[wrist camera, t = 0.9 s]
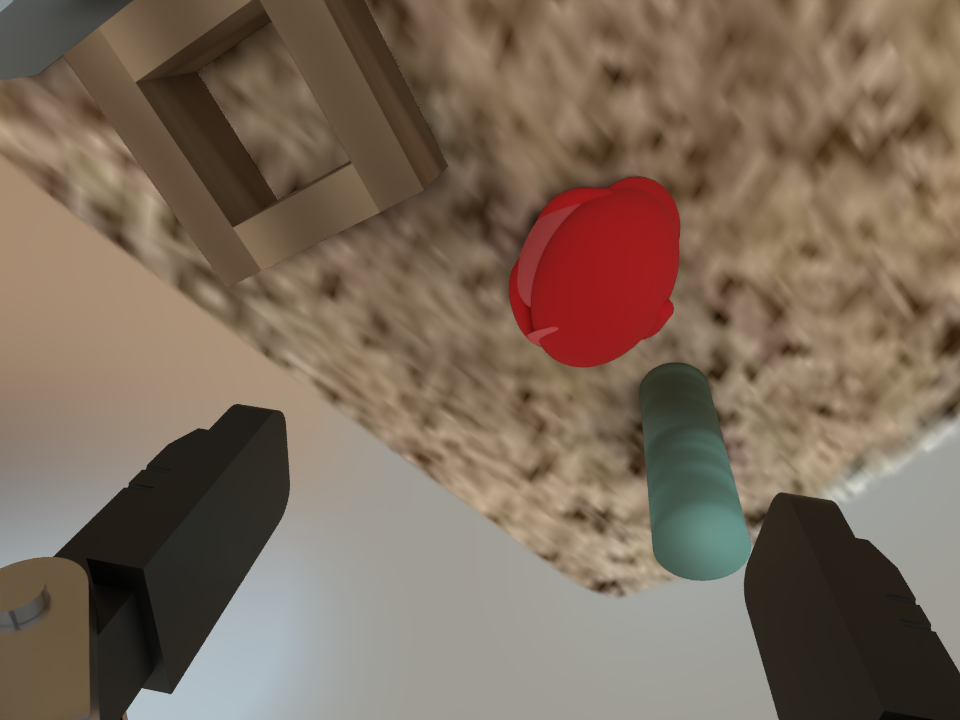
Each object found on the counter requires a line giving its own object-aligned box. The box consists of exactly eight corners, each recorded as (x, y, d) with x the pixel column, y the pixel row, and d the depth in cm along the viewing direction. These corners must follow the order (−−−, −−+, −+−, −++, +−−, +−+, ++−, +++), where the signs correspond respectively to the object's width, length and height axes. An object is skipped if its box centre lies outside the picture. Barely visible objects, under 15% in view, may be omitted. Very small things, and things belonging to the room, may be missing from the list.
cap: (586, 402, 27) (701, 382, 22) (476, 346, 25) (581, 309, 20) (616, 248, 30) (725, 201, 25) (522, 183, 27) (623, 116, 23)
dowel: (696, 353, 29) (734, 502, 20) (718, 408, 30) (762, 570, 21) (629, 375, 30) (639, 525, 21) (652, 426, 31) (670, 587, 23)
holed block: (318, -89, 23) (267, -105, 19) (447, 165, 27) (424, 190, 23) (133, 48, 26) (62, 55, 23) (269, 255, 30) (226, 288, 27)
